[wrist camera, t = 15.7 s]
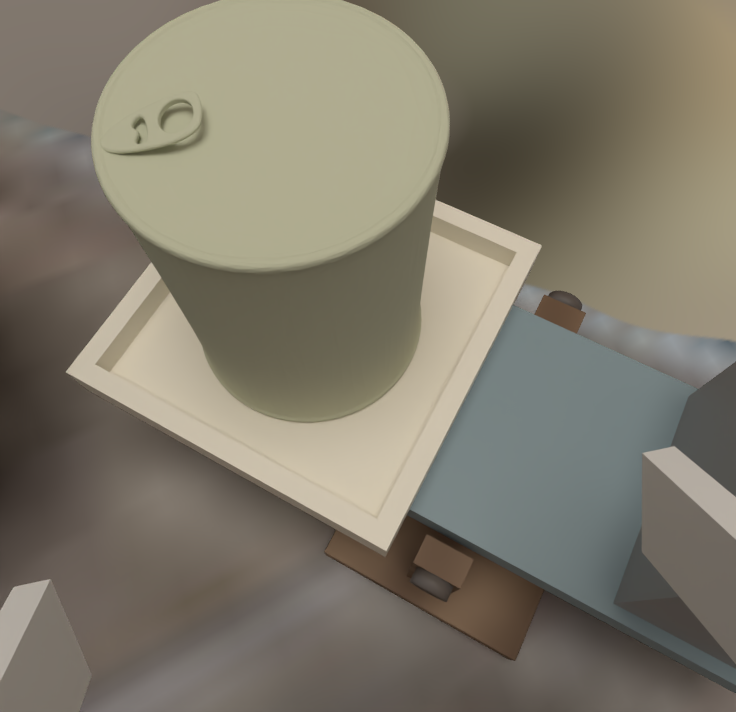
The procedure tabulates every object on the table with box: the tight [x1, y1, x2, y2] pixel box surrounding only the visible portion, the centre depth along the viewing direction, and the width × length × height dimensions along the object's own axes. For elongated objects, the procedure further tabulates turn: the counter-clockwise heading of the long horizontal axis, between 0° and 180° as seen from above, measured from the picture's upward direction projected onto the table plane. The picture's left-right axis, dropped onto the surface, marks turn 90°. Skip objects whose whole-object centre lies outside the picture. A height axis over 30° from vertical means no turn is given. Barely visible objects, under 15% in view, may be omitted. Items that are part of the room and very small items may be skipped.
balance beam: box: [66, 200, 736, 693], centre depth 23 cm, size 30×14×8 cm, turn 62°
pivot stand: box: [324, 291, 586, 661], centre depth 30 cm, size 10×15×8 cm, turn 152°
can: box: [91, 0, 450, 422], centre depth 21 cm, size 9×9×12 cm
